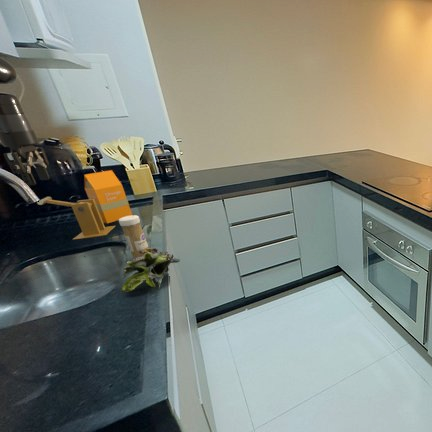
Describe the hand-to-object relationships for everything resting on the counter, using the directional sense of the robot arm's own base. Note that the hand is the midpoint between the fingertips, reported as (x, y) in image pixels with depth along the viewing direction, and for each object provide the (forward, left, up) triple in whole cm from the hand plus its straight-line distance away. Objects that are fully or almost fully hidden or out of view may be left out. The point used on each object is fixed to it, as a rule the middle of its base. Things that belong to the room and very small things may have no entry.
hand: (38, 182), depth 96 cm
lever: (+4, 0, -9) cm, 10 cm away
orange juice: (+10, +15, -21) cm, 28 cm away
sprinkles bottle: (+30, -28, -21) cm, 46 cm away
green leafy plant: (+38, -46, -21) cm, 63 cm away
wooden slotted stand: (+9, 0, -21) cm, 23 cm away
